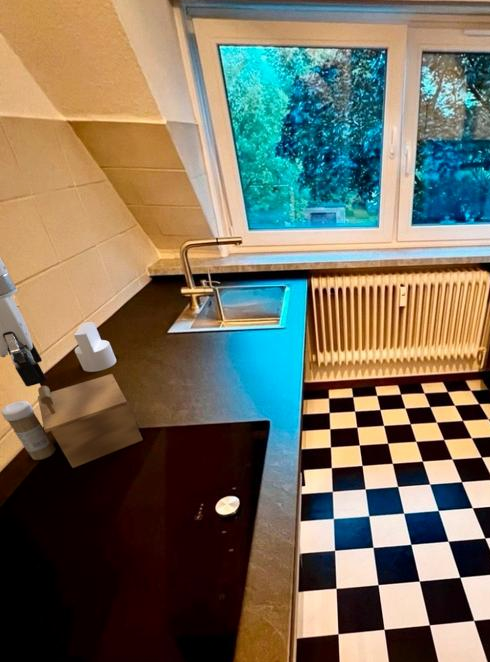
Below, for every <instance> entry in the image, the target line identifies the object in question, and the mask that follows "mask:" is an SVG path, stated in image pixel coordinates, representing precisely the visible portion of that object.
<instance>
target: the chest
mask: <svg viewBox="0 0 490 662" xmlns="http://www.w3.org/2000/svg"><path fill="white" fill-rule="evenodd" d="M50 432H51V434H52V436H53V437H54V439H55V440H56V442H57V444H58V446H59V448H60V449H61V451H62V453H63V454H64V456H65V458H66V459H67V461H68V463H69V465H70V466H71V468H73V469H74V468H76V467H79V466H81V465H84V464H87V463H89V462H91V461H94V460H96V459H99V458H102V457H105V456H106V455H109V454H111V453H114V452H116V451H119V450H121V449H124V448H127V447H129V446H132V445H134V444H136V443H138V442H141V441H143V440H144V439H143V437H142V435H141V432H140V429H139V427H138V425H137V422H136V420H135V418H134V416H133V413H132V411H131V408H130V407H129V403H128V404H127V405H124V406H121V407H118V408H116V409H113V410H110V411H107V412H104V413H101V414H98V415H95V416H92V417H90V418H87V419H84V420H81V421H78V422H75V423H72V424H69V425H67V426H64V427H61V428H58V429H55V430H52V431H50Z"/></svg>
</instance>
